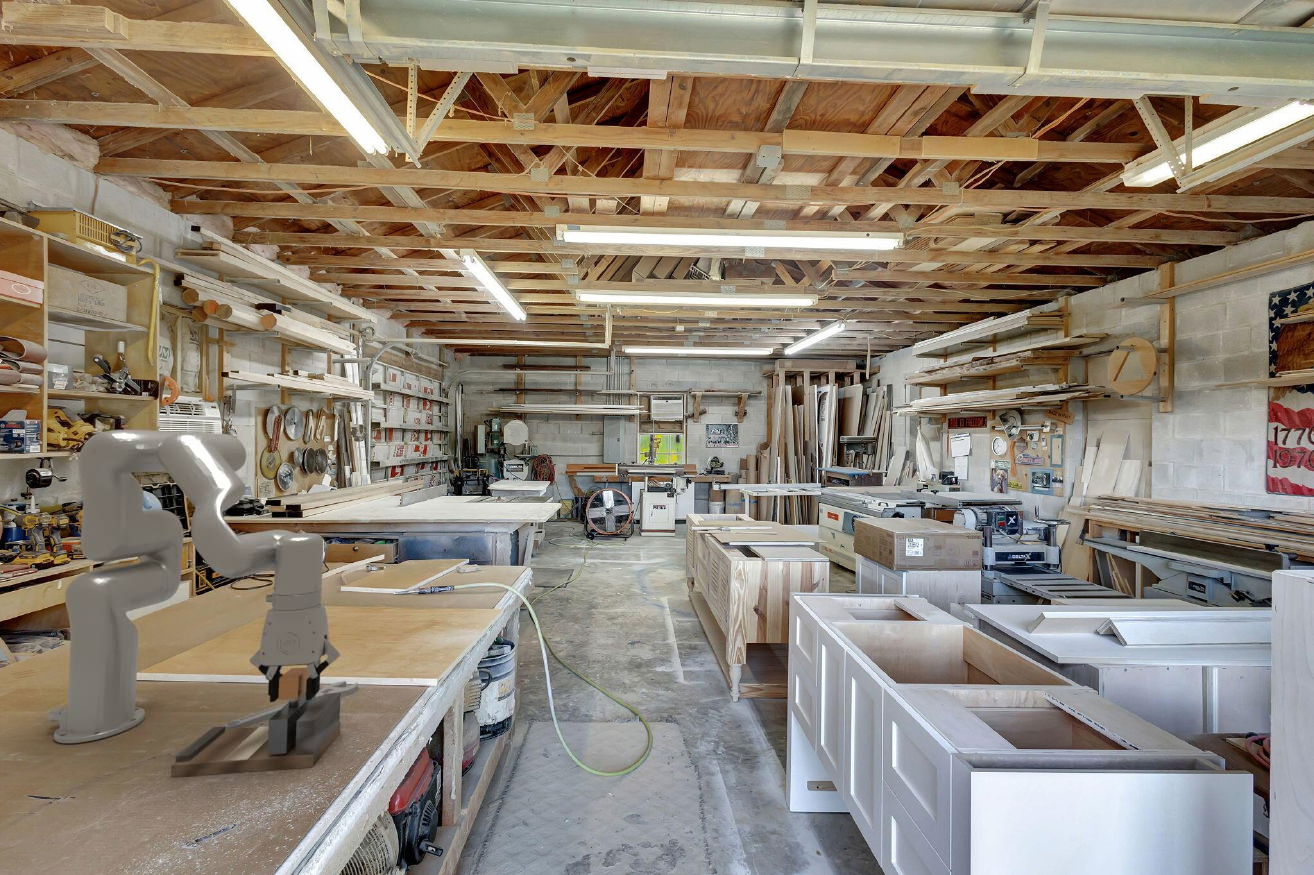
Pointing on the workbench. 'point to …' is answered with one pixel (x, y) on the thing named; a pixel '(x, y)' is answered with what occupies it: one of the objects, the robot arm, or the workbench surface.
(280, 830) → the workbench surface
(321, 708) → the bench vise
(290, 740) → the sliding jaw
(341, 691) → the adjustable wrench
